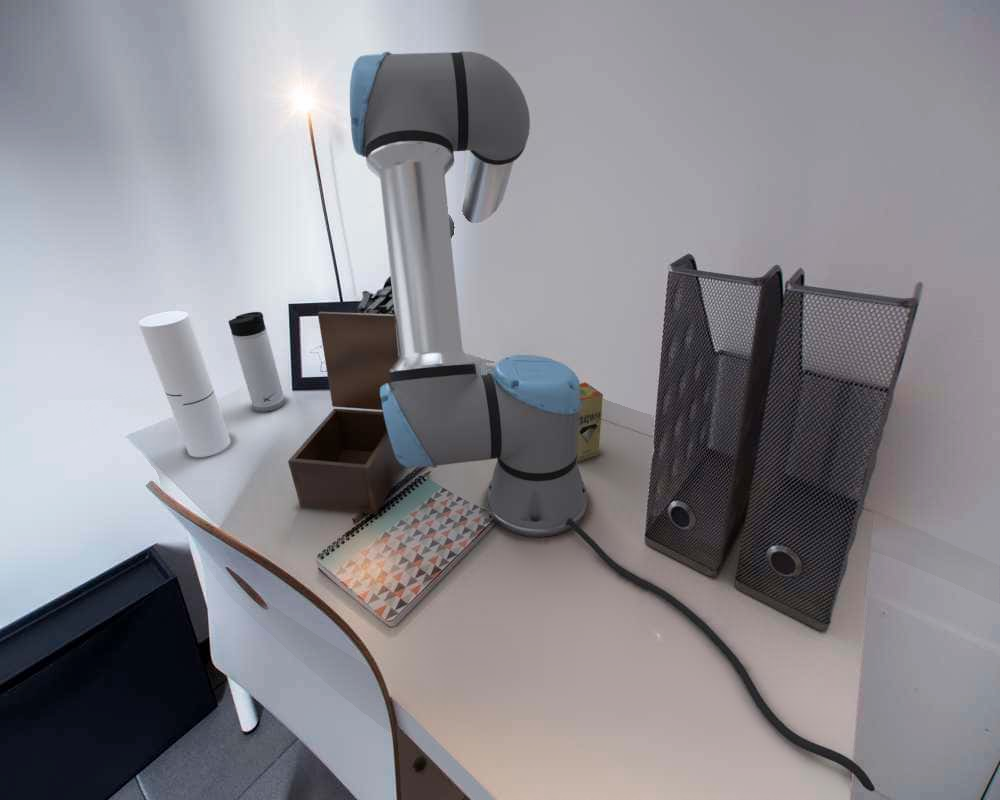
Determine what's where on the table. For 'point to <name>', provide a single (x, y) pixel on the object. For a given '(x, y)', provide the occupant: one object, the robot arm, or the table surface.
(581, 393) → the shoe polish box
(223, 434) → the cylindrical container
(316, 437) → the keepsake box
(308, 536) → the table surface
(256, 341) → the travel mug
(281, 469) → the table surface
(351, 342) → the lid
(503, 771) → the table surface
